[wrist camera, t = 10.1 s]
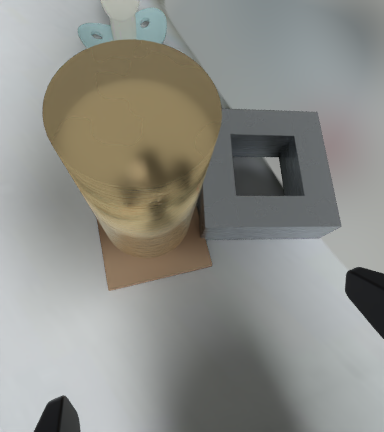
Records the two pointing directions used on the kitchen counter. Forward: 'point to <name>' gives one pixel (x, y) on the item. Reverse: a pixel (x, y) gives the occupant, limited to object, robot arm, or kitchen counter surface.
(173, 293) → the kitchen counter surface
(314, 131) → the housing
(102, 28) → the pacifier
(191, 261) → the mat
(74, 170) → the gold metal cylinder
